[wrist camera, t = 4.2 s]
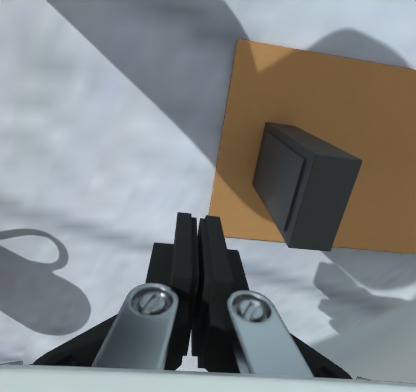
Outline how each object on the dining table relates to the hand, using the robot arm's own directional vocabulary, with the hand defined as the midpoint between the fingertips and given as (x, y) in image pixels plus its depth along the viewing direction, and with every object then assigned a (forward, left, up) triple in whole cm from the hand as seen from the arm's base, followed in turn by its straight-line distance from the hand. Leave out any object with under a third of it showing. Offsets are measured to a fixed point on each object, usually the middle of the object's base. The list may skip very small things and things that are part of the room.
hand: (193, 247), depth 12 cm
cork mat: (+15, 0, -17) cm, 22 cm away
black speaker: (+8, 0, -16) cm, 18 cm away
